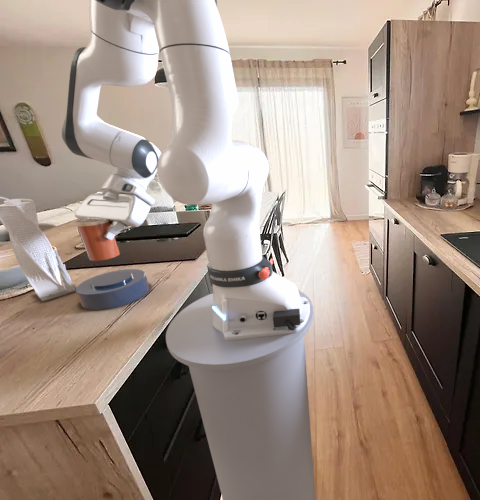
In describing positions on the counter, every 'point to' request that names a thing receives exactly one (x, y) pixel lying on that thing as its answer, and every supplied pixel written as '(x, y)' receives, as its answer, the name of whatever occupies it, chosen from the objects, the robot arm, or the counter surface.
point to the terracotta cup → (97, 238)
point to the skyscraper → (34, 250)
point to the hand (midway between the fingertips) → (96, 237)
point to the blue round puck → (112, 289)
